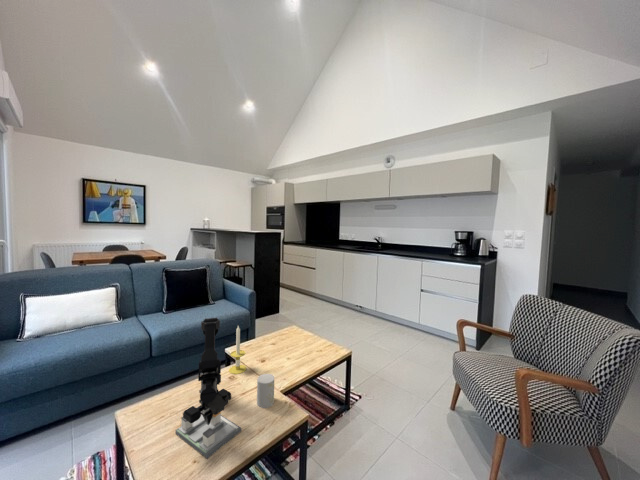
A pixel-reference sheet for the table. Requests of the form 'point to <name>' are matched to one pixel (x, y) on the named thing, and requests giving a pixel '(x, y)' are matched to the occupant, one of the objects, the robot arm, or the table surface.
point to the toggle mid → (216, 418)
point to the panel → (195, 433)
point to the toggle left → (185, 424)
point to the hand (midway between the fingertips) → (208, 424)
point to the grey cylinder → (265, 390)
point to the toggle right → (208, 437)
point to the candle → (237, 356)
